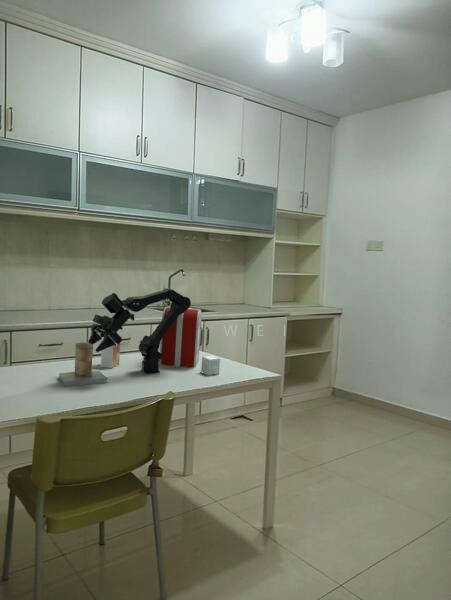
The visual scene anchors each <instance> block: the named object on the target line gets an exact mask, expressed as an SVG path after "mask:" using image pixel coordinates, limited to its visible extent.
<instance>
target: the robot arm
mask: <svg viewBox="0 0 451 600" xmlns="http://www.w3.org/2000/svg"><path fill="white" fill-rule="evenodd" d="M165 300H168V301H169V302H171V303H170V306H169V307H170V310H169V312H168V313H167V314H166V316H165V317H164V318H163V320H162V319H161V321H160V323H159V324H158V325H157V326H156V327H155V329H154V330H153V332H152V333H151V334H150V335H146V334H145V335H144V336H143V338H142V339H141V340H140V341H139V345H138V351H139V352H140V353H141V354H140V355H141V356H142V362H141V371H142V372H144V373H145V374H153V373H154V374H155V373H160V370H159V368H160V367H159V366H160V365H159V360H160V359H161V357H162V354H161V353H160V343H161V339H162V338H163V336H164V335H165V334H166V332H167V331H168V330H169V328H170V327H171V326H172V324H173V323H174V321H175V320H176V319H177V317H178V316H179V315H181V314H182V313H184V312H185V311H186V310H187V309H188V308H190V307H191V305H192V303H191V302H192V301H191V298H190V297H188V296H184V295H182V294H180V293H179V292H177V291H175V290H174V289H172V288H169V287H168V288H165V289H161V290H159V291H156V292H152V293H150V294H145V295H141V296H140V295H138V296H137V295H136V296H129V297H126V298H125V299H123V300H121V299H120V298H119V297H118V295H117V293H114V292H112V293H111V294H109V295H107V296H106V297H104V298H103V299H102V300H101V304H102V306H103V307H104V308H105V309H106V310H107V311H108V313H110V314H113V315H112V316H111V317H110V316H107V315H99V314H94V317H93V319H92V322H93V324H92V325H90V331H91V334H90V337H89V338H88V341H87V342H89V343H91V344H93V345H95V344H96V343H98V342H100V341H101V342H100V343H99V344H98V346H97V347H96V349H95V351H96V353H99V352H102V350H104V349H106V348H108V347H111V346H114V345H116V344H118V345H119V344H120V345H121V343H122V341H123V338H122V336H120V335H119V333H118V331H120V330H123V329H124V328H123V326H124V325H125V324H126V323H127V322H128V320H131V321H135V314H134V313H132V312H135V313H138V312H141V311H142V310H144V309H145V308H146V307H148V306H149V305H153V304H155V303H159V302H162V301H165ZM130 311H131V312H130Z"/></svg>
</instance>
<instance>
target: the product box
mask: <svg viewBox="0 0 451 600" xmlns="http://www.w3.org/2000/svg"><path fill="white" fill-rule="evenodd" d="M220 362H221V358H219V357H217V356H215V355H207V356H202V357H201V370H200V372H201V373H202V372H203V374H204V373H205V375H207V376H212V375H213V374H214V375H218V374H220Z"/></svg>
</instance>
